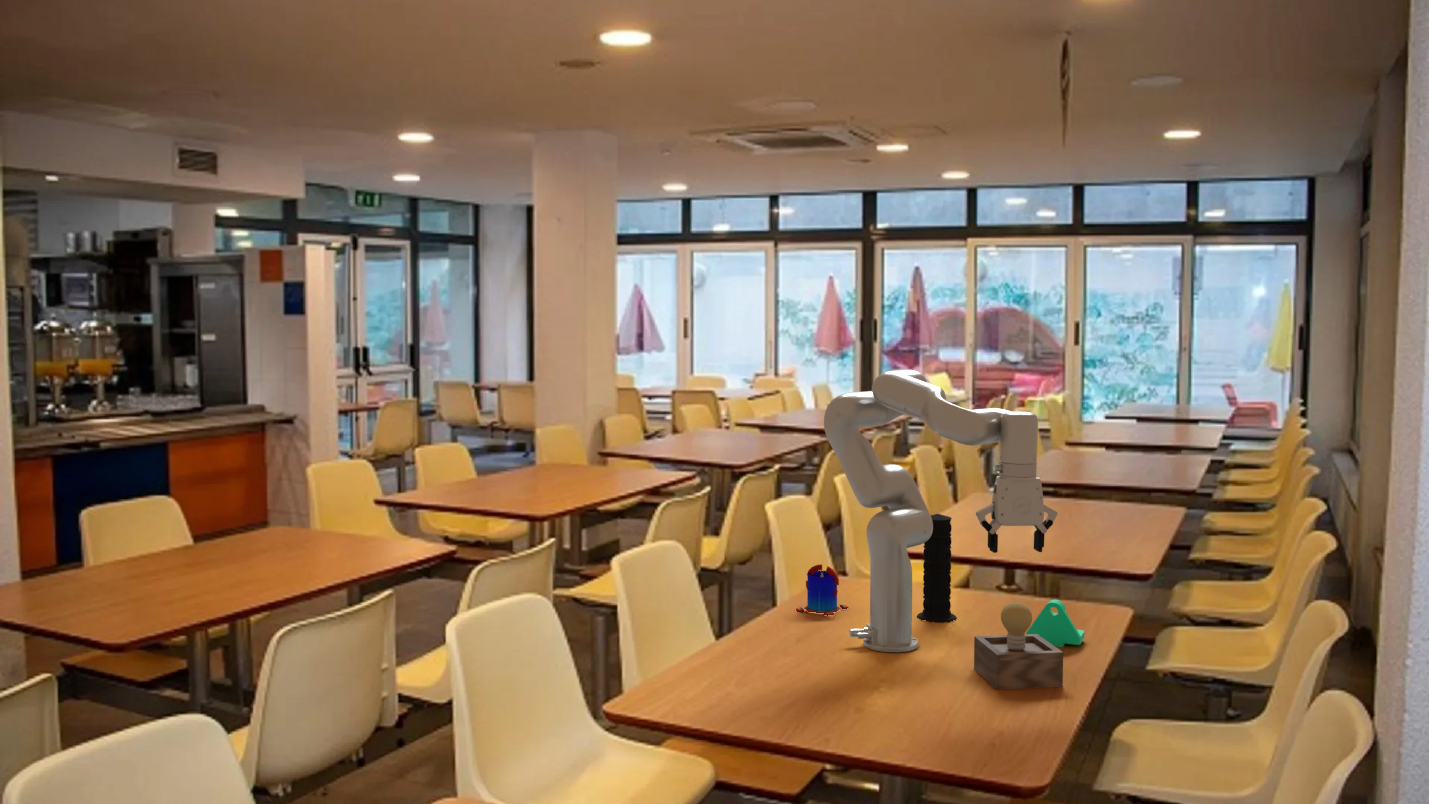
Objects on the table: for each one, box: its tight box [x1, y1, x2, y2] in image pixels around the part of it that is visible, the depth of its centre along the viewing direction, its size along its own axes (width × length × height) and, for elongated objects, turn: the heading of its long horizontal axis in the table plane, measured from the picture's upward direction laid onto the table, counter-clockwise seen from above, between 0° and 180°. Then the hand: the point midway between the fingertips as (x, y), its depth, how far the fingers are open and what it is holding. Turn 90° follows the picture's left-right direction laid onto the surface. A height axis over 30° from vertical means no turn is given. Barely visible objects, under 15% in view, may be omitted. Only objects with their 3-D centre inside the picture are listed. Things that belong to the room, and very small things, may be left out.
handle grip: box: [916, 513, 958, 624], centre depth 299 cm, size 10×26×10 cm
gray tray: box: [973, 633, 1064, 690], centre depth 251 cm, size 14×14×7 cm
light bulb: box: [1000, 601, 1033, 651], centre depth 250 cm, size 6×6×10 cm
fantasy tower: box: [795, 564, 849, 616], centre depth 308 cm, size 12×12×12 cm
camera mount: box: [1025, 599, 1085, 648], centre depth 278 cm, size 12×8×10 cm, turn 64°
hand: (1015, 551), depth 251 cm, fingers open, 9 cm apart
